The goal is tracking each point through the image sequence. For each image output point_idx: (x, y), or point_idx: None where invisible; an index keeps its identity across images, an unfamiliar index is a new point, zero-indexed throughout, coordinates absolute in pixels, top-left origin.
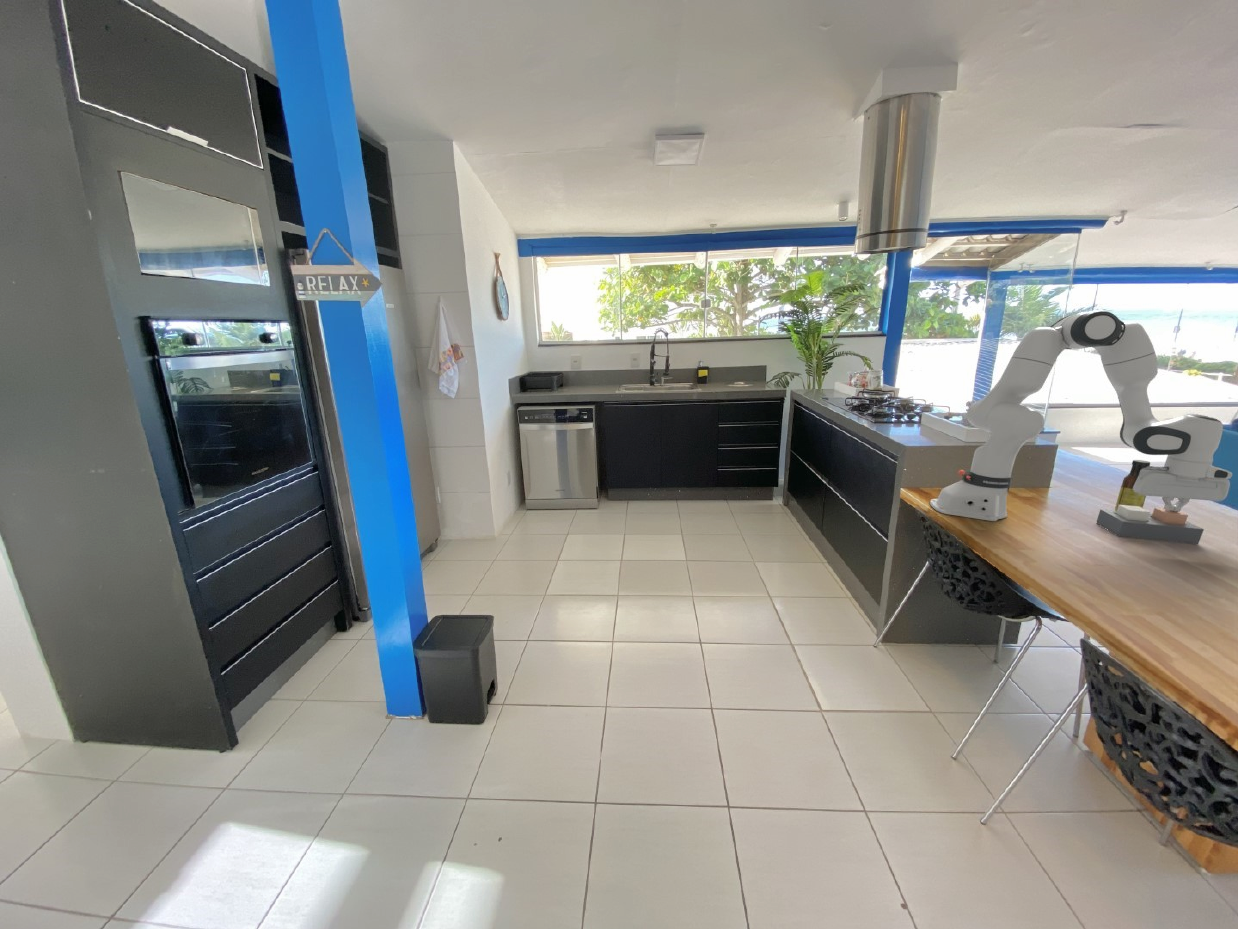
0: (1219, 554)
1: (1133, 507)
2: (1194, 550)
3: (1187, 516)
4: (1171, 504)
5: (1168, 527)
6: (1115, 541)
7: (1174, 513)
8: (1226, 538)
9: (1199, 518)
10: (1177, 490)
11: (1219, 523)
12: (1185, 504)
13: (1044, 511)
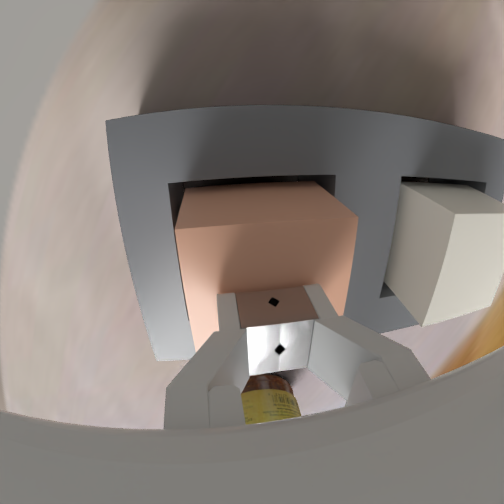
0: (125, 2)
1: (468, 285)
2: (220, 9)
3: (179, 221)
4: (334, 330)
5: (332, 108)
6: (483, 72)
7: (283, 242)
8: (4, 275)
9: (50, 418)
10: (468, 500)
11: (17, 396)
12: (192, 357)
13: (479, 320)
